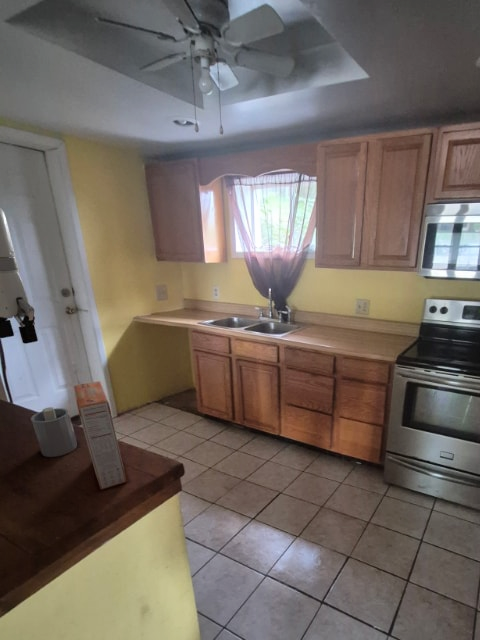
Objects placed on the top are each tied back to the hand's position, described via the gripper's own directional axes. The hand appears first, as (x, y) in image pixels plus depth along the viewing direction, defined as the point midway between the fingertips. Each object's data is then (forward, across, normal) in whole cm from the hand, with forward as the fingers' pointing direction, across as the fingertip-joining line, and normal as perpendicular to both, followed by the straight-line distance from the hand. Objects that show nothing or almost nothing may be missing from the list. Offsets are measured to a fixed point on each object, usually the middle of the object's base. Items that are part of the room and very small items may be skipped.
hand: (18, 339), depth 90 cm
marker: (+28, +6, 0) cm, 29 cm away
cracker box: (+29, +27, -2) cm, 40 cm away
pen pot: (+29, +6, 0) cm, 29 cm away
